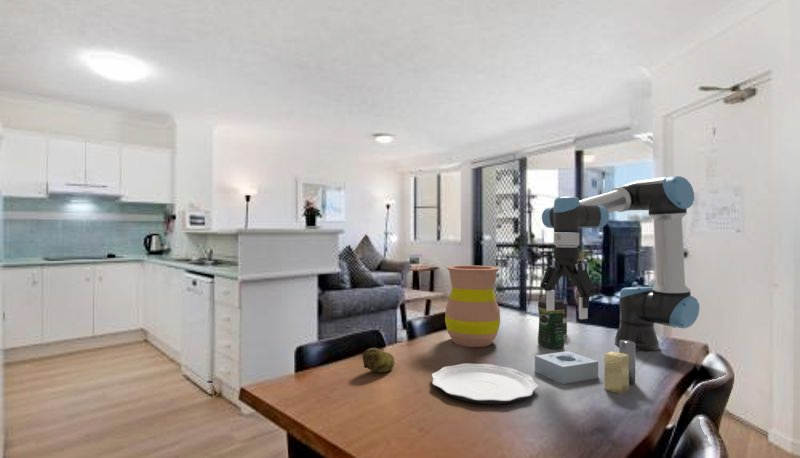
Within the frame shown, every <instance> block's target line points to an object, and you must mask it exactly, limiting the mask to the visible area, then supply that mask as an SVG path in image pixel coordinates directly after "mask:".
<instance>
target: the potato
mask: <svg viewBox="0 0 800 458" xmlns="http://www.w3.org/2000/svg"><path fill="white" fill-rule="evenodd" d="M362 363H363V367H364V369H368V370H369V371H372V372H374V371H375V372H377V373H382V374H383V373H387V372H389V371H391V370H392V369H393V368H394V365H395V358H394V356H393V354H391V353H390V352H387V351H386V352H385V351H384V350H382V349H380V348H379V347H378V348H377V347H370V348H367V349H366V350H365V351H363V353H362Z"/></svg>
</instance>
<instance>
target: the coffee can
mask: <svg viewBox="0 0 800 458" xmlns="http://www.w3.org/2000/svg"><path fill="white" fill-rule="evenodd" d="M561 301H562V302H563V303H564V313H563V332H564V337H567V336H568V304H569V303H568V302H567V301H563V300H561Z"/></svg>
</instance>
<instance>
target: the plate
mask: <svg viewBox="0 0 800 458" xmlns="http://www.w3.org/2000/svg"><path fill="white" fill-rule="evenodd" d="M430 376H431V377H432V378H431V379H432V382H431V384H432V385H433V387H436V388H438V389H440V390H442V391H443V392H445V393H446V394H447V395H449V396H451V397H452V398H455V399H458V400H461V401H465V402H469V403H475V404H482V405H502V404H510V403H513V402H517V401H519V400H522V399H527V398H529V397H531V396H532V395H533V393H534V392H535V390H537V389H539V385H538V383H536V382H535V381H534V379H533V377H532V376H531V375H529V374H526V373H524V372H520V371H518V370H516V369H515V368H512V367H507V366H500V365H496V364H491V363H465V362H464V363H460V364H455V365H447V366H443V367H441V369H439V370H437V371H436V372H433V373H432V374H431V375H430Z"/></svg>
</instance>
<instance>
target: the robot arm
mask: <svg viewBox="0 0 800 458" xmlns="http://www.w3.org/2000/svg"><path fill="white" fill-rule="evenodd" d="M553 201H554V202H553V206H551V207H547V208H545V209H544V210H543V211H542V213H541V222H542V224H543V226H545V228H548V229H553V245H554V246H555V247H553V258H554V260H548V261H547V268H546V270H545V271H544V272H545V273H544V275H543V278H542V280H541V283H540V288H541V289H544V291H545V292H544V293H545V295H544V296H545V297H544V298H546V311H554V299H555V297H556V296H555V289H554V288H555V287H556V285H557V284H558V282H559V280H560V279H561V277H565V278H566V277H567V278H569V279H570V280H571V281H572V283H573V284H574V285H575V288H576V289H577V290H578V292H579V294H580V296H579V297H578V319H579V320H587V319H589V317H588V314H589V313H588V311H589V310H588V309H589V308H590V298H591V297H593V296H596V294H597V293H596V290H595V289H594V285H593V283H592V280H591V277H590V275H589V274H590V273H588V266H587V263H583V262H582V263H579V262H578V260H579V259H580V247H578V246H580V229H601V228H604V227H605V226H606V225H607V224H608V223H609V218H610V214H611V213H614V212H618V213H623V212H626V211H648V216H649V217H650V218H651V219H652V220H653V230H654V231H653V232H654V233H653V234H654V249H655V252H654V254H655V269H656V270H655V271H656V272H655V273H656V285H654V286H653V287H652V286H635V287H633V286H632V287H623V288H621V290H620V294H619V326H618V329H617V331H616V334H615V336H614V345H616V346H618V347H619V341H620V340H629V341H633V342H635V351H640V352H642V351H643V352H652V351H653V352H654V351H658V350H659V349H660V341H659V340H658V336H657V333H656V331H655V324H658V325H663V326H667V327H668V326H669V327H671V328H679V329H689V328H690V327H691V326H693V325H694V324H695V322H696V321H697V319H698V317H699V314H700V303H699V301H698V299H697V298H696V297H694V296H691V295H692V294H691V289H690V288H689V287H687V285H686V279H685V277H686V276H685V275H686V274H685V257H684V255H685V253H684V235H683V217H685V216H686V215H687V213H688V211H687V209H689V208H691V207H692V206H693V204H694V201H695V192H694V187H693V186H692V184H691V183H690V182H689V180H688V179H686V178H685V177H683V176H682V175H681V176H679V175H677V176H676V175H673V176H671V175H670V176H663V177H662V176H661V177H655V178H647V179H638V180H635V181H632V182H630V183H626V184H623V185H620V186H618V187H614V188H612V189H611V190H610V191H609V192H606V193H602V194H599V195H595V196H591V197H588V198H583V199H581V200H580V198H579V197H576V196H561V197H560V196H559V197H556V198H555V199H554V200H553Z"/></svg>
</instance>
